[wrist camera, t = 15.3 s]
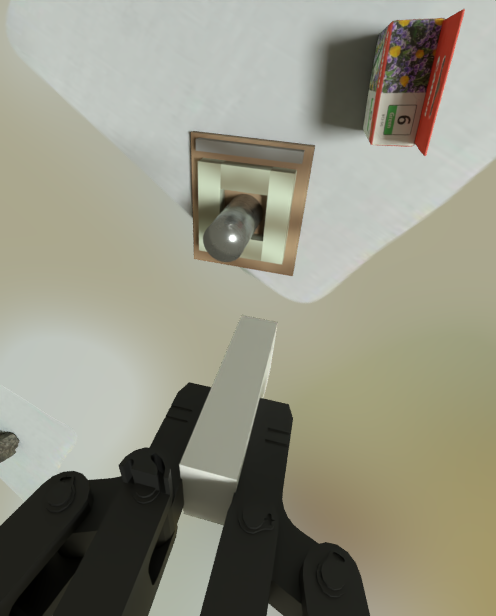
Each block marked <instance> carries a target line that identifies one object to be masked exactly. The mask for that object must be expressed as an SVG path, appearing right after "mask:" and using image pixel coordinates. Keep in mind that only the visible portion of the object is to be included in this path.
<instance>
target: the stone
mask: <svg viewBox="0 0 496 616" xmlns="http://www.w3.org/2000/svg"><path fill="white" fill-rule="evenodd" d="M18 443H19V440H18V439H17V437H16V436H15V435H14V434H12V433H10V432H8V433H5V434H0V463H1V462H3V461H4V460H6V459H7V458H9V457H11V456H12V455H14V454H15V453H16V451H15V449H16V448H17V447H18Z"/></svg>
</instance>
